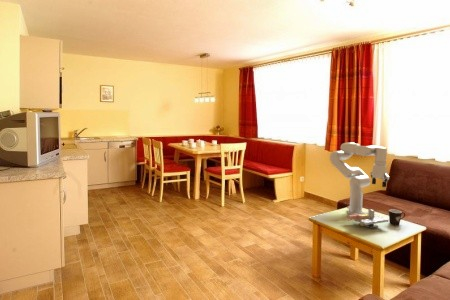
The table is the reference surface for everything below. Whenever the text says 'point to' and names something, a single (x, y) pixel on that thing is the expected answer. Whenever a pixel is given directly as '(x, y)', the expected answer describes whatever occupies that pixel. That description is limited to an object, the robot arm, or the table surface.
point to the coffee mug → (395, 217)
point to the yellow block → (364, 218)
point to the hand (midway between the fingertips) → (378, 185)
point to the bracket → (355, 216)
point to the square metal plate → (371, 219)
